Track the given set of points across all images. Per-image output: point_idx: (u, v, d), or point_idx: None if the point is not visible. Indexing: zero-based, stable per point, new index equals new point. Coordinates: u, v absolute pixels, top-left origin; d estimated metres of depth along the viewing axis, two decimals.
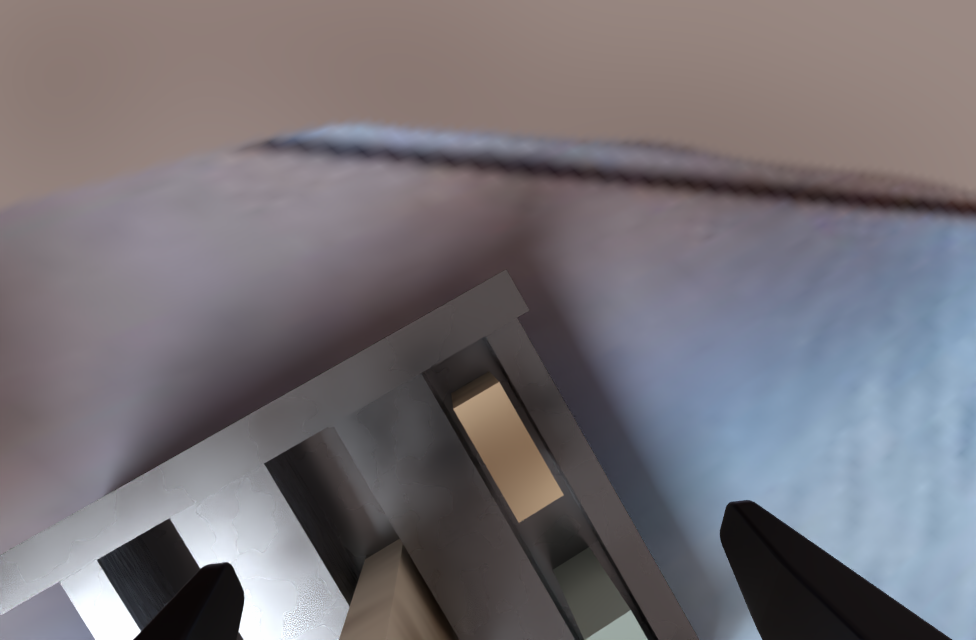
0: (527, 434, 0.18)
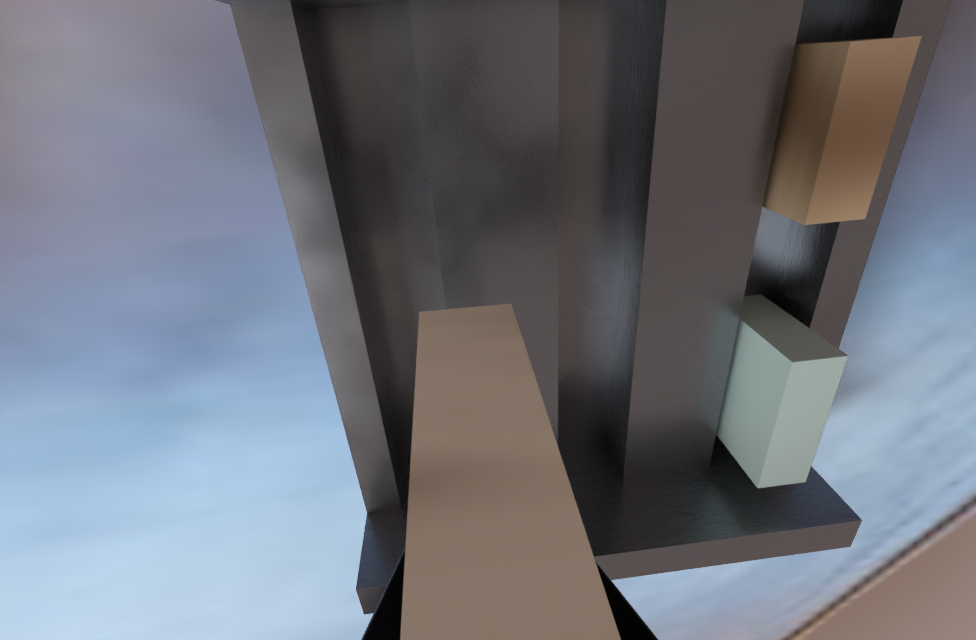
0: (892, 126, 0.14)
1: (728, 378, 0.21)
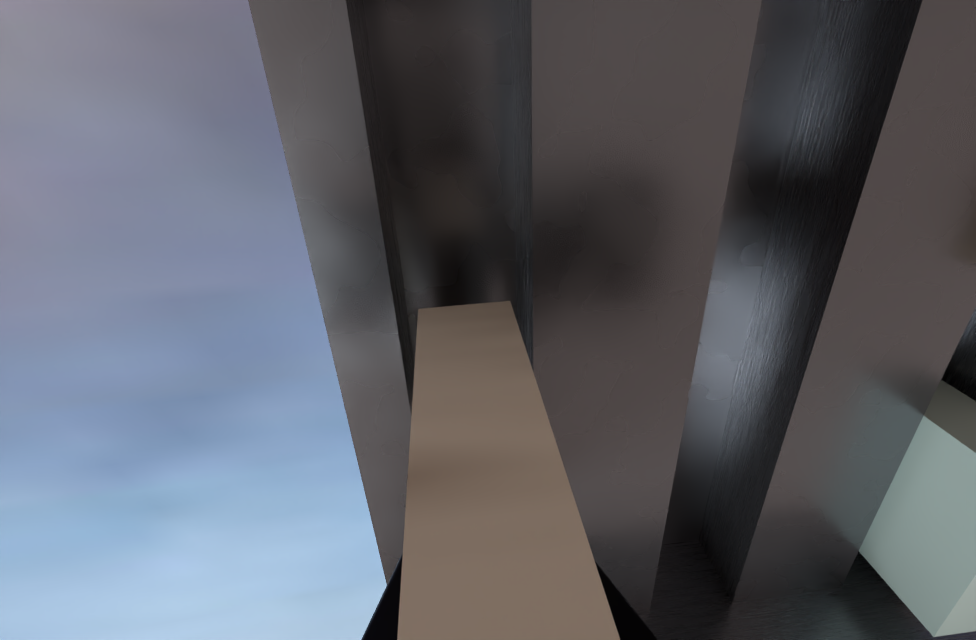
0: None
1: None
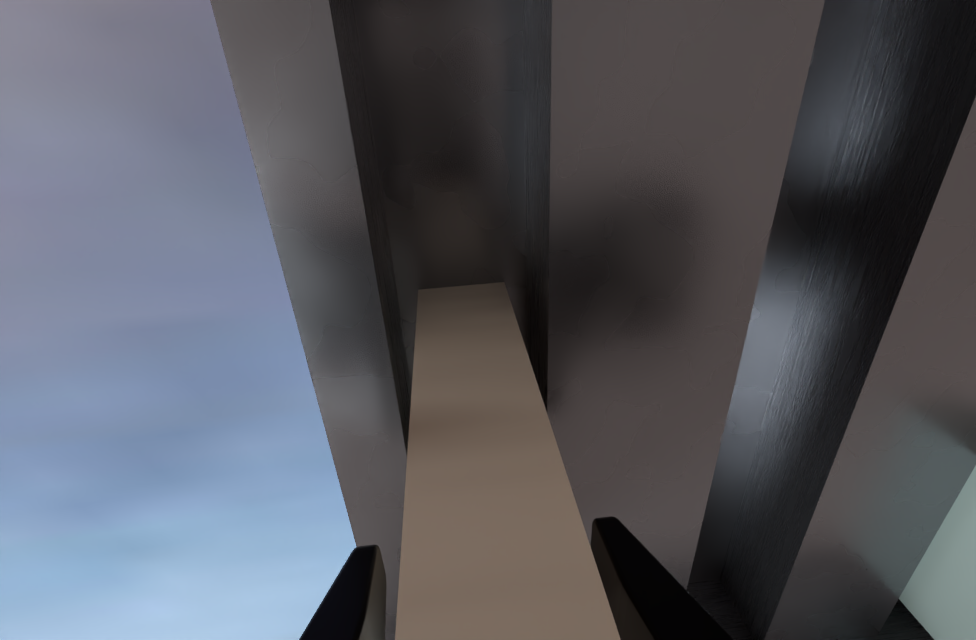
0: None
1: None
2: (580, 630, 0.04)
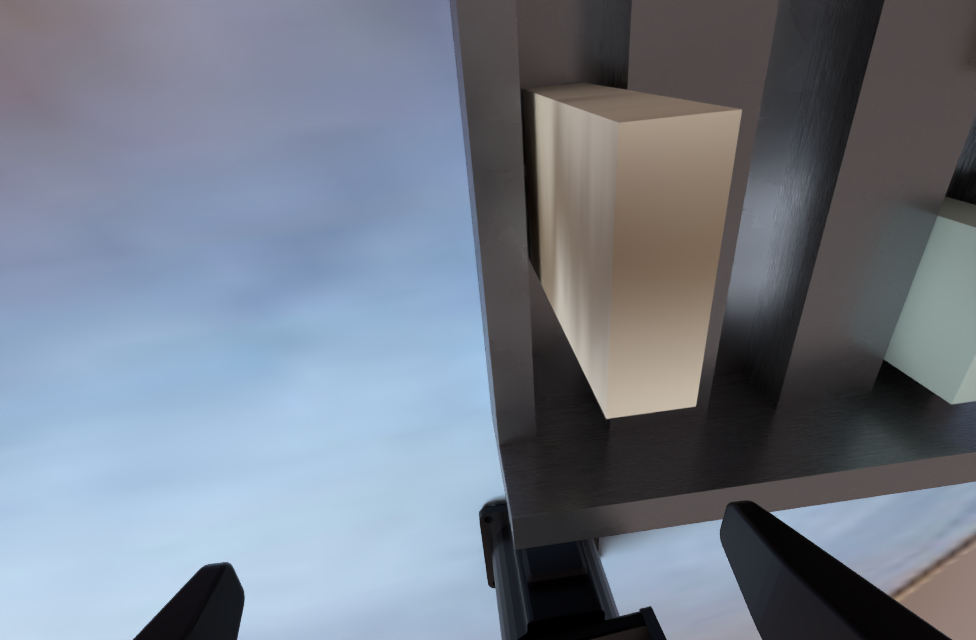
0: None
1: None
2: (688, 105, 0.09)
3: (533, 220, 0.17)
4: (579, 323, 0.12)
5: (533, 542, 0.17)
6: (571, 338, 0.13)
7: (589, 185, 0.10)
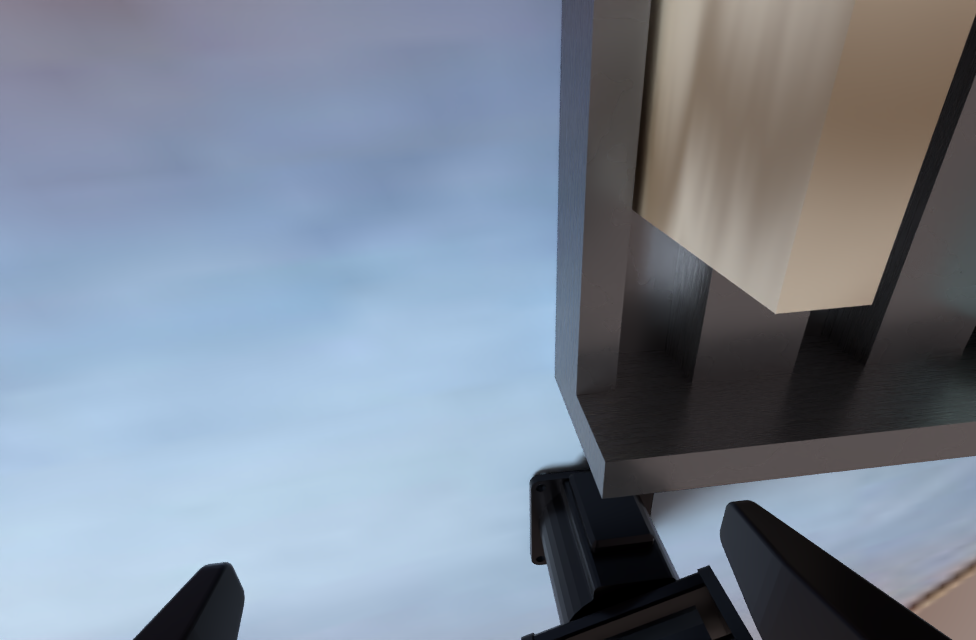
0: None
1: None
2: None
3: None
4: (726, 223, 0.11)
5: (623, 491, 0.16)
6: (703, 249, 0.12)
7: (782, 41, 0.09)
